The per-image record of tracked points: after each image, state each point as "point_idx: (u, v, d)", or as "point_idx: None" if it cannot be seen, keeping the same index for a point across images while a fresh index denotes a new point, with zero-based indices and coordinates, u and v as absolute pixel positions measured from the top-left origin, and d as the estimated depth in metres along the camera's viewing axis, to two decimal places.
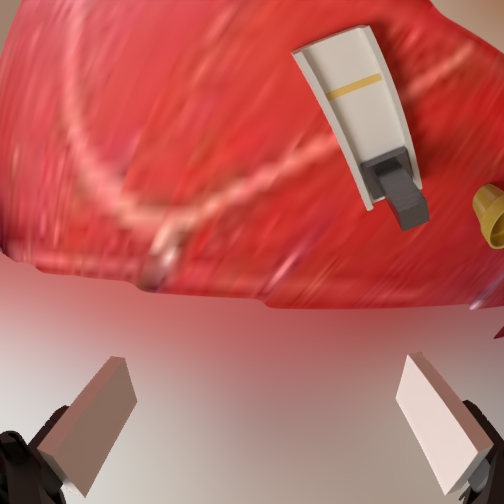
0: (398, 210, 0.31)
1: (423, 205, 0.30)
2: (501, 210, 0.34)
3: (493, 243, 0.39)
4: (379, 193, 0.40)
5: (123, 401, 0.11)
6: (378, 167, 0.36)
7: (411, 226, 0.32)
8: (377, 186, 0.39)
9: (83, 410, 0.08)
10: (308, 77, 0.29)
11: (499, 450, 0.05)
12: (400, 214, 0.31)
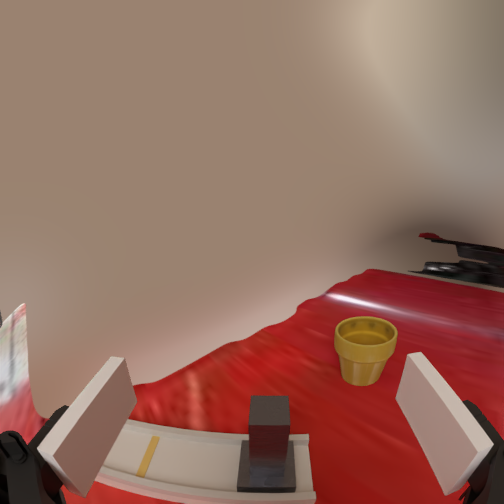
0: (249, 426, 0.21)
1: (256, 399, 0.25)
2: (341, 341, 0.41)
3: None
4: (287, 478, 0.23)
5: (123, 401, 0.11)
6: (245, 470, 0.24)
7: (286, 415, 0.22)
8: (274, 478, 0.23)
9: (83, 410, 0.08)
10: (104, 472, 0.22)
11: (499, 450, 0.05)
12: (253, 423, 0.21)
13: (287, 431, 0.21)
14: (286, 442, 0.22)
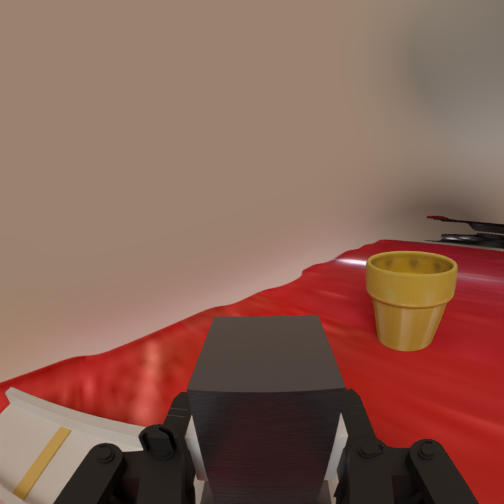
0: (191, 396, 0.06)
1: (226, 323, 0.09)
2: (380, 274, 0.26)
3: None
4: None
5: None
6: None
7: (324, 358, 0.07)
8: None
9: None
10: None
11: (352, 450, 0.07)
12: (206, 384, 0.06)
13: (332, 415, 0.06)
14: (325, 455, 0.06)
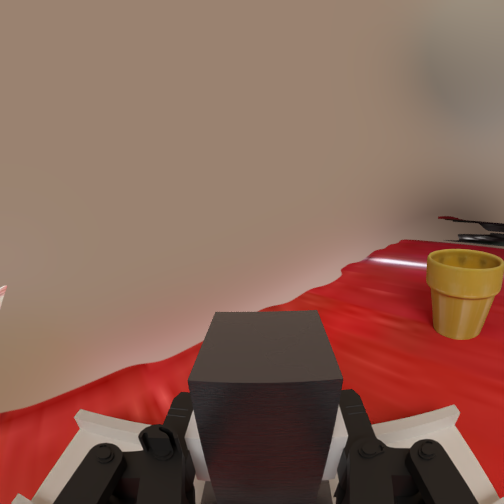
0: None
1: (228, 319, 0.09)
2: (445, 269, 0.25)
3: None
4: None
5: None
6: None
7: (323, 351, 0.07)
8: None
9: None
10: None
11: (352, 450, 0.07)
12: (207, 375, 0.06)
13: (331, 407, 0.06)
14: (324, 447, 0.06)
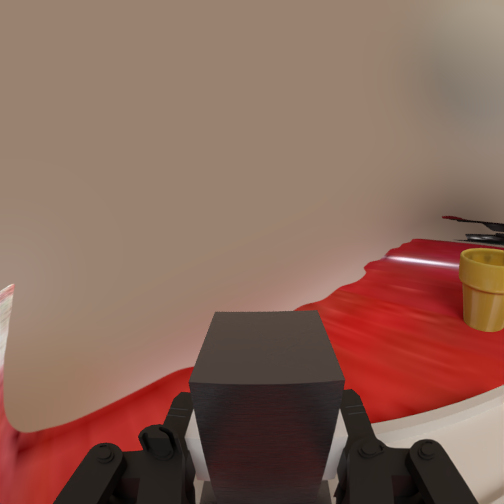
0: None
1: (227, 319, 0.09)
2: (480, 267, 0.25)
3: None
4: None
5: None
6: None
7: (324, 352, 0.07)
8: None
9: None
10: None
11: (352, 450, 0.07)
12: (208, 377, 0.06)
13: (332, 408, 0.06)
14: (324, 448, 0.06)
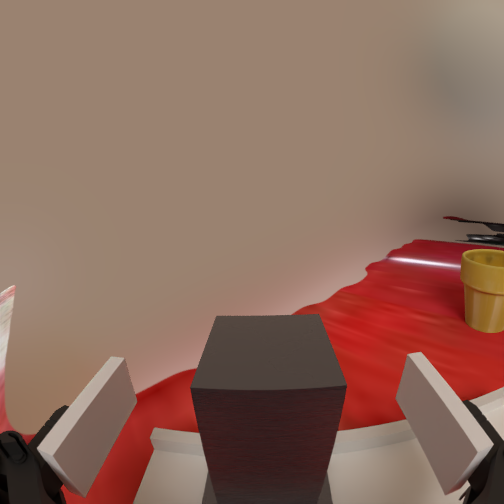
0: (194, 394, 0.06)
1: (229, 323, 0.09)
2: (482, 268, 0.25)
3: None
4: None
5: (123, 401, 0.11)
6: None
7: (326, 356, 0.07)
8: None
9: (83, 410, 0.08)
10: None
11: (499, 450, 0.05)
12: (209, 382, 0.06)
13: (334, 413, 0.06)
14: (326, 452, 0.06)
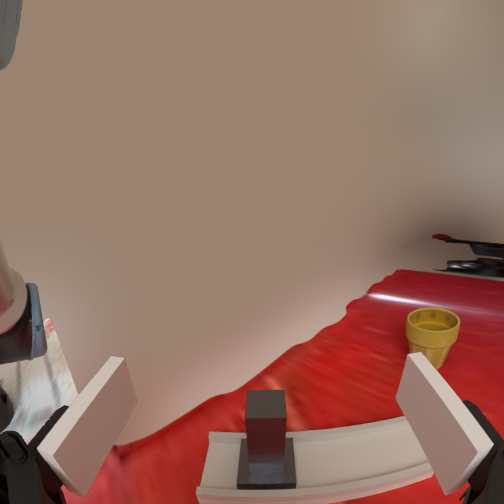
0: None
1: (252, 394, 0.25)
2: (416, 330, 0.41)
3: None
4: (287, 475, 0.23)
5: (123, 401, 0.11)
6: (244, 468, 0.24)
7: (283, 407, 0.23)
8: (274, 475, 0.23)
9: (83, 410, 0.08)
10: (228, 495, 0.21)
11: (499, 450, 0.05)
12: (250, 416, 0.22)
13: (284, 424, 0.22)
14: (283, 436, 0.22)
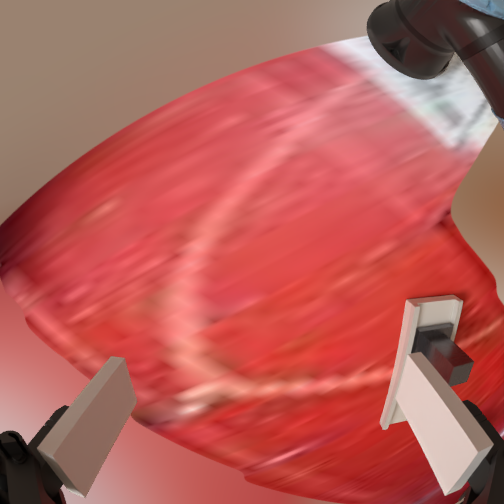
0: (453, 365, 0.29)
1: (470, 365, 0.29)
2: None
3: None
4: None
5: (123, 401, 0.11)
6: (430, 334, 0.38)
7: (453, 384, 0.30)
8: (421, 351, 0.38)
9: (83, 410, 0.08)
10: (412, 326, 0.38)
11: (499, 450, 0.05)
12: (454, 369, 0.29)
13: None
14: None
